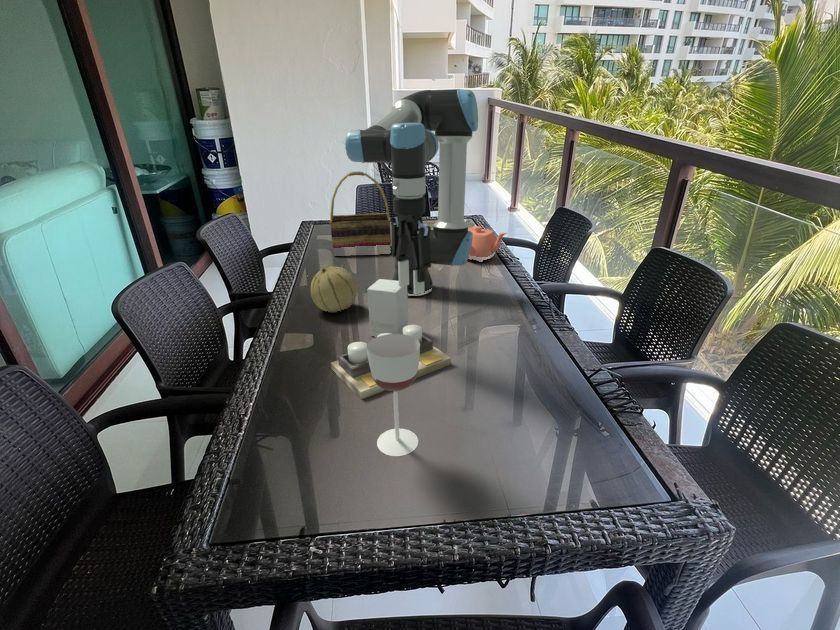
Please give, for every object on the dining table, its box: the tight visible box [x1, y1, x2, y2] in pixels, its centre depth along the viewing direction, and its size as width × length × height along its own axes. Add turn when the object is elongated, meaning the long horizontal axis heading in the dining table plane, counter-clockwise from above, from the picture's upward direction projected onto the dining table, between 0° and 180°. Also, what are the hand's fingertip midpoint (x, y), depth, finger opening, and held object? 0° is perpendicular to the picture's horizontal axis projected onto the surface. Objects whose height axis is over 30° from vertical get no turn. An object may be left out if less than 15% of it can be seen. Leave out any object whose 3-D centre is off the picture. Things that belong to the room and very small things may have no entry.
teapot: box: [468, 225, 508, 257], centre depth 194 cm, size 18×18×14 cm
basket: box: [328, 171, 392, 249], centre depth 202 cm, size 26×15×35 cm, turn 97°
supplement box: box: [366, 278, 410, 337], centre depth 133 cm, size 9×9×15 cm
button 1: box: [347, 341, 368, 364], centre depth 113 cm, size 5×5×4 cm
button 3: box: [403, 324, 423, 343], centre depth 121 cm, size 5×5×4 cm
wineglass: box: [367, 334, 420, 457], centre depth 87 cm, size 9×10×22 cm
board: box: [330, 334, 452, 400], centre depth 117 cm, size 16×26×4 cm, turn 125°
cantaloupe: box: [310, 266, 358, 313], centre depth 147 cm, size 15×15×15 cm
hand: (411, 289), depth 116 cm, fingers open, 6 cm apart
